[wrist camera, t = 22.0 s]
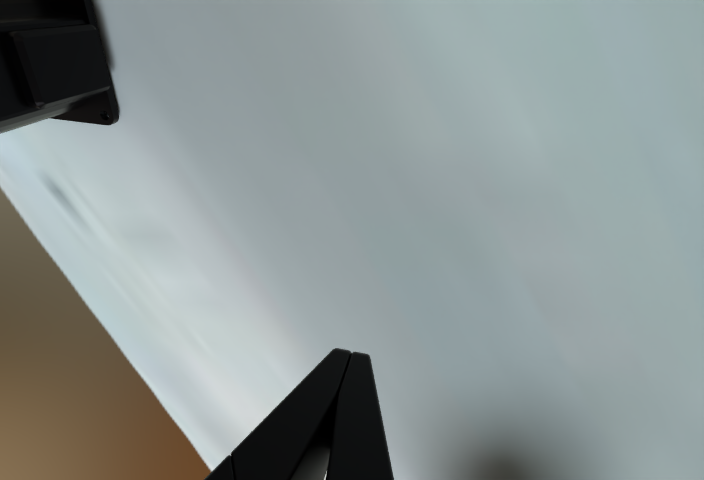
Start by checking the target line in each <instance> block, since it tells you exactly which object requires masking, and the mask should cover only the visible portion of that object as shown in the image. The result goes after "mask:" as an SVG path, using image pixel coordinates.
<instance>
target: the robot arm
mask: <svg viewBox="0 0 704 480" xmlns="http://www.w3.org/2000/svg"><path fill="white" fill-rule="evenodd" d="M106 112H107V113H108V115H109V117H108V116H107V115H106ZM48 118H52V119H60V120H68V121H76V122H84V123H93V124H101V125H111V124H114V123H116V122H117V121H118V120H119V113H118V109H117V105H116V101H115V97H114V93H113V89H112V85H111V81H110V77H109V73H108V69H107V65H106V61H105V56H104V52H103V48H102V44H101V40H100V36H99V32H98V28H97V24H96V20H95V16H94V12H93V8H92V4H91V0H0V134H1V133H4V132H7V131H10V130H13V129H16V128H19V127H23V126H26V125H29V124H32V123H35V122H38V121H41V120H45V119H48ZM326 471H327V475H326V480H394V477H393V472H392V467H391V462H390V457H389V452H388V446H387V441H386V436H385V431H384V426H383V421H382V416H381V410H380V405H379V400H378V395H377V390H376V385H375V379H374V374H373V369H372V364H371V359H370V356H369V355H368V354H364V353H359V352H353V353H351V351H349V350H344V349H339V348H335V349H333V350H332V351H331V352H330V353H329V354H328V355H327V356H326V357H325V358H324V359H323V360H322V361H321V362H320V363H319V364H318V365H317V366H316V367H315V368H314V369H313V370H312V371H311V372H310V373H309V374H308V375H307V376H306V377H305V378H304V379H303V380H302V381H301V382H300V383H299V384H298V385H297V386H296V387H295V388H294V390H293V391H292V392H291V393H290V394H289V395H288V396H287V397H286V398H285V399H284V400H283V401H282V402H281V403H280V404H279V405H278V406H277V407H276V408H275V409H274V410H273V411H272V412H271V413H270V414H269V415H268V416H267V417H266V418H265V419H264V420H263V421H262V422H261V423H260V424H259V425H258V426H257V427H256V428H255V429H254V430H253V431H252V432H251V433H250V434H249V435H248V436H247V437H246V438H245V439H244V440H243V441H242V442H241V443H240V444H239V445H238V446H237V447H236V448H235V449H234V450H233V451H232V452H231V456H230V455H228V456H227V457H226V458H225V459H224V460H223V461H222V462H221V463H220V464H219V465H218V466H217V467H216V468H215V469H214V470H213V471H212V472H211V473H210V474H209V475H208V476H207V477H206V478H205V479H204V480H324V477H325V474H326Z"/></svg>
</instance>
